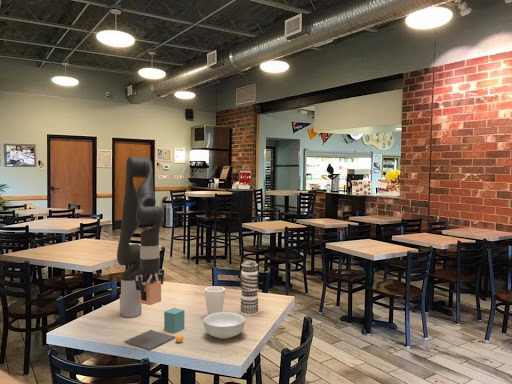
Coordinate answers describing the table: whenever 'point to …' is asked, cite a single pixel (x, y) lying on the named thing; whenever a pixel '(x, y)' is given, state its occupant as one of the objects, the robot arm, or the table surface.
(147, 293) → the salmon pink cube
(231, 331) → the cereal bowl
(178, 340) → the orange ball
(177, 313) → the seafoam square box
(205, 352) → the table surface
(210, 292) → the foam cup
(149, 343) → the charcoal mat
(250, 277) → the decorative candle
